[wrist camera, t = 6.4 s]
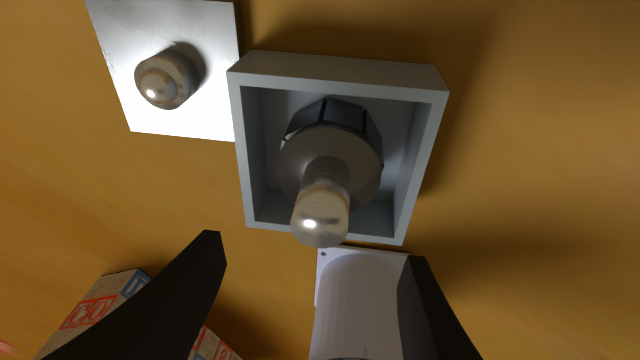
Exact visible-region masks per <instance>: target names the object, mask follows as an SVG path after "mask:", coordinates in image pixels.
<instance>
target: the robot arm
mask: <svg viewBox="0 0 640 360" xmlns="http://www.w3.org/2000/svg"><path fill="white" fill-rule="evenodd" d="M226 266H227V262H226V257H225V253H224V248H223V244H222V239H221V234H220V231H212V230H203V231H202V232H201V233H200V234H199V235H198V236H197V237H196V238H195V239H194V240H193V241H192V242H191V243H190V244H189V245H188V246H187V247H186V248H185V249H184V250H183V251H182V252H181V253H180V254H179V255H178V256H177V257H175V258H174V259H173V260H172V261H171V262H170V263H169V264H168V265H167V266H166V267H165V268H164V269H163V270H161V271H160V272H159V273H158V274H157V275H156V276H155V277H154V278H152V279H151V280H150V281H149V282H148V283H147V284H145V285H144V286H143V287H142V288H141V289H140V290H138V291H137V292H136V293H135V294H134V295H132V296H131V297H130V298H129V299H127V300H126V301H125V302H124V303H122V304H121V305H120V306H118V307H117V308H116V309H115V310H113V311H112V312H111V313H109V314H108V315H107V316H105V317H104V318H102V319H101V320H100V321H98V322H97V323H95V324H94V325H92V326H91V327H89V328H88V329H87V330H85V331H84V332H82V333H81V334H79V335H78V336H76V337H75V338H73V339H72V340H70V341H69V342H67V343H66V344H64V345H62V346H61V347H59V348H58V349H56V350H54V351H53V352H51V353H49V354H48V355H46V356H45V357H43V358H41V359H40V360H188V357H189V355H190V352H191V350H192V347H193V345H194V343H195V341H196V339H197V336H198V334H199V332H200V330H201V328H202V326H203V323H204V321H205V319H206V317H207V315H208V313H209V311H210V308H211V306H212V304H213V302H214V300H215V297H216V295H217V293H218V291H219V288H220V285H221V282H222V279H223V276H224V273H225V270H226ZM314 305H315V306H316V311H315V319H314V326H313V333H312V340H311V347H310V354H309V360H483V358H482V357H481V355H480V354H479V352H478V351H477V349H476V348H475V346H474V345H473V343H472V342H471V340H470V339H469V337H468V335H467V334H466V332H465V331H464V329H463V327H462V326H461V324H460V322H459V321H458V319H457V317H456V316H455V314H454V312H453V310H452V308H451V307H450V305H449V303H448V301H447V300H446V298H445V296H444V294H443V292H442V290H441V288H440V286H439V284H438V283H437V281H436V279H435V277H434V274H433V272H432V270H431V268H430V266H429V264H428V262H427V260H426V258H425V257H422V256H414V255H411V254H408V253H400V252H392V251H384V250H376V249H368V248H360V247H352V246H344V245H337V246H334V247H331V248H318V257H317V272H316V287H315V301H314Z"/></svg>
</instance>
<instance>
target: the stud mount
mask: <svg viewBox="0 0 640 360" xmlns="http://www.w3.org/2000/svg"><path fill="white" fill-rule="evenodd" d="M84 1H85V4H86V7H87V10H88V12H89V15H90V18H91V21H92V24H93V26H94V29H95V32H96V35H97V37H98V40H99V43H100V46H101V49H102V51H103V54H104V57H105V60H106V62H107V65H108V68H109V71H110V74H111V76H112V79H113V82H114V85H115V87H116V90H117V93H118V96H119V99H120V101H121V104H122V107H123V110H124V113H125V115H126V118H127V121H128V124H129V126H130V129H131V131H138V132H147V133H157V134H166V135H176V136H185V137H195V138H204V139H214V140H223V141H233V142H235V138H234V131H233V123H232V116H231V109H230V101H229V94H228V86H227V79H226V72H225V71H227V70H228V69H229V68H230V67H231V66H232V65H233V64H235V63H236V62H237V61H238V60H239V59H240V58H242V57H243V56H244V55H245V51H244V41H243V30H242V20H241V9H240V0H84Z"/></svg>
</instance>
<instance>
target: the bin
mask: <svg viewBox="0 0 640 360" xmlns="http://www.w3.org/2000/svg"><path fill="white" fill-rule="evenodd" d="M225 72H226V79H227V86H228V94H229V101H230V109H231V116H232V123H233V131H234V138H235V146H236V153H237V161H238V168H239V175H240V183H241V190H242V198H243V205H244V212H245V220H246V227H253V228H261V229H270V230H278V231H286V232H291V229H290V221H291V217H292V214H293V210H294V207H295V203H294V202H293V201H291V200H290V199H289V198H288V197H287V196H286V195H285V193H284V192H283V190H282V189H281V187H280V185H279V183H278V180H277V176H276V162H277V158H278V155H279V153H280V148H281V143H282V139H283V137H284V134H285V132H286V130H287V128H288V125H289V123H290V121H291V119H292V116H294V114H295V113H296V112H298V111H300V110H301V109H303V108H305V107H307V106H309V105H310V104H312V103H314V102H316V101H318V100H320V99H321V98H323V97H324V98H325V100H326V101H328V97H332V98H336V99H339V100H343V101H346V102H350V103H354V104H357V105H361V106H363V110H365V109H367V110H368V112H369V114H370V116H371V118H372V119H373V121H374V123H375V125H376V127H377V129H378V130H379V132H380V134H381V136H382V143H383V155H384V169H383V172H382V174H381V183H380V186H379V189H378V191H377V193H376V194H375V196H374V197H373V198H372V199H371V200H370V201H369V202H368V203H367V204H366V205H365V206H363V207H361V208H360V209H358V210H356V211H353V212H350V213H349V221H348V233H347V236H346V238H345V239H350V240H358V241H366V242H374V243H382V244H391V245H399V246H402V244H403V240H404V237H405V234H406V231H407V228H408V224H409V221H410V218H411V215H412V212H413V208H414V205H415V202H416V199H417V196H418V192H419V189H420V186H421V183H422V180H423V176H424V173H425V170H426V167H427V164H428V160H429V157H430V154H431V151H432V148H433V144H434V141H435V138H436V135H437V132H438V128H439V125H440V122H441V119H442V116H443V112H444V109H445V106H446V103H447V100H448V96H449V93H450V91H449V89H448V87H447V86H446V84H445V82H444V81H443V79H442V77H441V75H440V74H439V72H438V70H437V69H436V67H435V65H432V64H420V63H408V62H397V61H385V60H373V59H361V58H349V57H338V56H326V55H314V54H302V53H290V52H279V51H267V50H255V49H251V50H250V51H248V52H247V53H246V54H245V55H244V56H243V57H242V58H240V59H239V60H238V61H237V62H236V63H235V64H233V65H232V66H231V67H230V68H229V69H228V70H227V71H225Z"/></svg>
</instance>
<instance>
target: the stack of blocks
mask: <svg viewBox="0 0 640 360" xmlns="http://www.w3.org/2000/svg"><path fill="white" fill-rule="evenodd" d="M150 280H151V279H150V278H149V277H148V276H147V275H146V274H144V273H143V272H142V271H141V270H140V269H133V270H129V271H124V272H120V273H114V274H110V275H106V276H102V277H100V278H99V279H98V280H97V281H96V283H95V284H94V285H93V286H92V288H91V289H90V290H89V291H88V293H87V294H86V295H85V296H84V298H83V299H82V301H81V302H79V303H78V304H77V306H76V307H75V308H74V310H73V311H72V312H71V313H70V315H69V316H68V317H67V318H66V319H65V321H64V322H63V323H62V325H61V326H60V327H59V329H58V330H57V331H56V332H54V333H53V335H52V336H51V337H50V338H49V340H48V341H47V342H46V343H45V345H44V346H43V347H42V348H41V349H40V351H39V352H38V353H37V354H36V356H35V357H34V358H33V359H32V360H40V359H41V358H43V357H45V356H46V355H48V354H49V353H51V352H53V351H54V350H56V349H58V348H59V347H61V346H62V345H64V344H66V343H67V342H69V341H70V340H72V339H73V338H75V337H76V336H78V335H79V334H81V333H82V332H84V331H85V330H87V329H88V328H89V327H91V326H92V325H94V324H95V323H97V322H98V321H100V320H101V319H102V318H104V317H105V316H107V315H108V314H109V313H111V312H112V311H113V310H115V309H116V308H117V307H118V306H120V305H121V304H122V303H124V302H125V301H126V300H127V299H129V298H130V297H131V296H132V295H134V294H135V293H136V292H137V291H138V290H140V289H141V288H142V287H143V286H144V285H145V284H147V283H148V282H149V281H150ZM188 360H243V359H242V358H241V357H239V356H238V355H237V354H236V353H235V352H234V351H233V350H232V349H231V348H230V347H229V346H228V345H227V344H225V343H224V342H223V341H222V340H221V339H220V338H219V337H218V336H217V335H215V334H214V333H213V332H212V331H211V330H210V329H208V328H206V327H205V326H204V325H203V326H202V328H201V330H200V332H199V334H198V336H197V339H196V341H195V343H194V345H193V347H192V350H191V352H190V355H189V357H188Z"/></svg>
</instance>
